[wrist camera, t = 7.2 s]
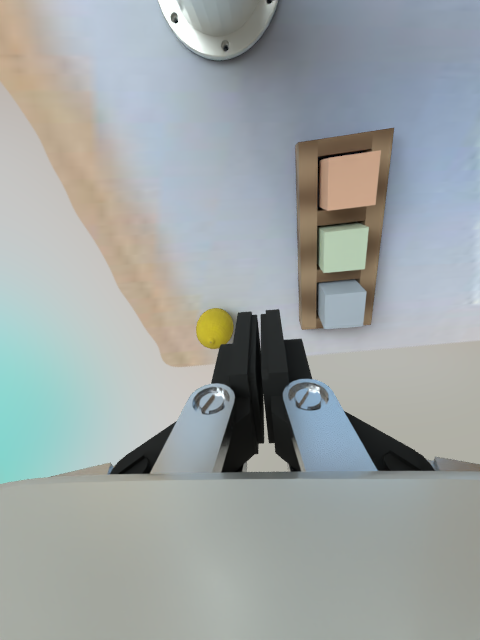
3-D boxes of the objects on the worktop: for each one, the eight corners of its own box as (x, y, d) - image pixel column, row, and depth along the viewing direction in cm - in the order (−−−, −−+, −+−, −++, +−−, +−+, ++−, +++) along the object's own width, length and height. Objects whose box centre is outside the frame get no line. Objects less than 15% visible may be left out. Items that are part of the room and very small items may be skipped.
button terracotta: (319, 160, 31) (328, 157, 27) (363, 154, 31) (381, 150, 26) (318, 206, 33) (327, 210, 29) (360, 201, 33) (375, 205, 28)
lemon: (195, 311, 44) (182, 337, 36) (222, 294, 42) (214, 317, 35) (215, 335, 45) (207, 364, 38) (242, 320, 44) (238, 347, 37)
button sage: (316, 225, 36) (324, 232, 31) (355, 221, 35) (368, 227, 31) (316, 262, 38) (323, 273, 34) (352, 258, 37) (364, 269, 33)
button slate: (317, 281, 38) (325, 295, 34) (353, 278, 37) (366, 291, 33) (317, 312, 40) (324, 329, 36) (351, 310, 40) (362, 326, 35)
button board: (295, 145, 32) (298, 142, 29) (382, 132, 31) (394, 127, 28) (299, 320, 43) (301, 329, 40) (363, 315, 42) (370, 324, 39)
